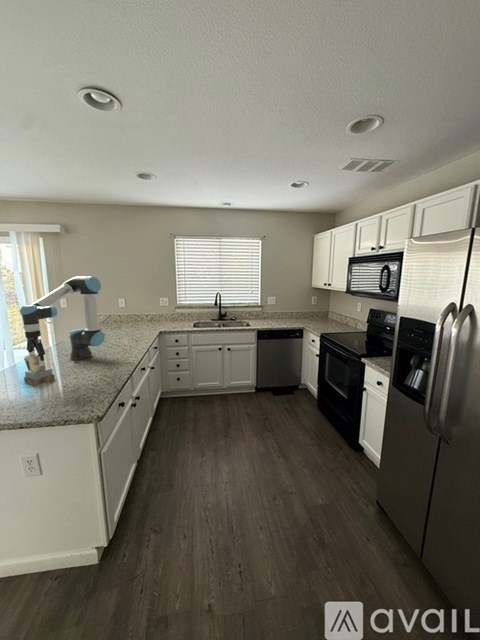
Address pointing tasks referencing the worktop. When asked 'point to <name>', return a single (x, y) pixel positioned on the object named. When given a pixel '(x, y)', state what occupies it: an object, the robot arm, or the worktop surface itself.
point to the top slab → (38, 374)
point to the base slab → (39, 380)
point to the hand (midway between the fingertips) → (37, 363)
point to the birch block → (35, 363)
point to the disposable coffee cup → (27, 362)
